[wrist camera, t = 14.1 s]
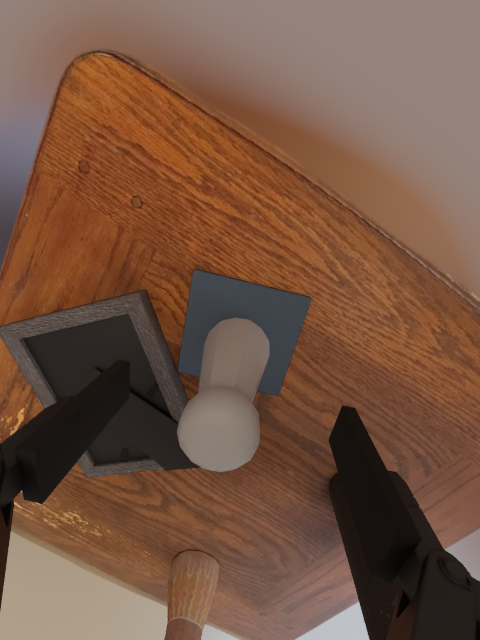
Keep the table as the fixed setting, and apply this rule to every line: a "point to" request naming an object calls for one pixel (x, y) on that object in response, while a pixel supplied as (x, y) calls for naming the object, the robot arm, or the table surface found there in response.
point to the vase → (190, 594)
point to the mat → (247, 303)
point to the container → (364, 570)
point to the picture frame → (94, 358)
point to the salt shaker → (226, 398)
